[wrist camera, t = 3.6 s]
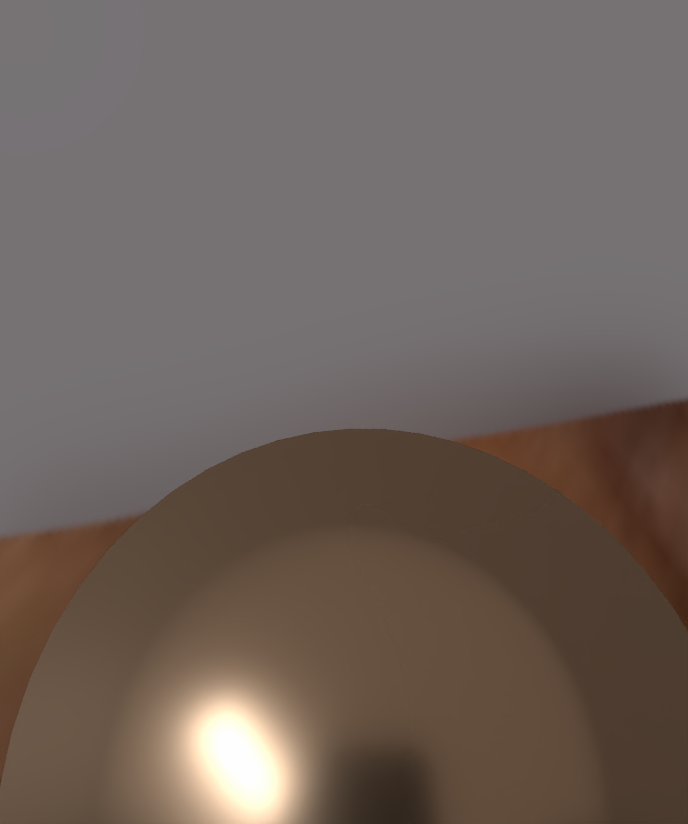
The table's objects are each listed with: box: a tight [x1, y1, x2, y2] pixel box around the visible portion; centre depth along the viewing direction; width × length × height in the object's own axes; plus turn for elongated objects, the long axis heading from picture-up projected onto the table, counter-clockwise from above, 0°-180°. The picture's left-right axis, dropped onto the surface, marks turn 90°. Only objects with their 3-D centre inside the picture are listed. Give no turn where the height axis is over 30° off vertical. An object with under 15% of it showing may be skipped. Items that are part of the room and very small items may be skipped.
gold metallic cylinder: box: [0, 429, 688, 824], centre depth 8 cm, size 4×4×13 cm
